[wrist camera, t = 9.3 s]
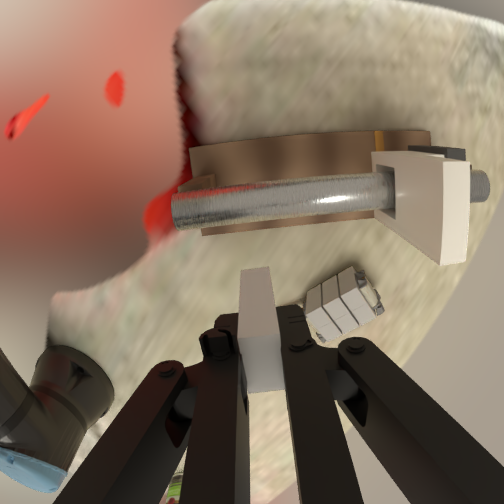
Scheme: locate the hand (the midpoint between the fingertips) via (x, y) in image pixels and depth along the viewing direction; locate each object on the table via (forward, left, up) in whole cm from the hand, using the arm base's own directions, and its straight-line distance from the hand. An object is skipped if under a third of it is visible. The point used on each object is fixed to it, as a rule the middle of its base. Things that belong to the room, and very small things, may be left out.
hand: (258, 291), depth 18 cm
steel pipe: (+7, +3, -10) cm, 13 cm away
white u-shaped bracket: (+13, +3, -12) cm, 17 cm away
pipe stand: (+7, +3, -21) cm, 22 cm away
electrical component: (+2, -15, -21) cm, 26 cm away
